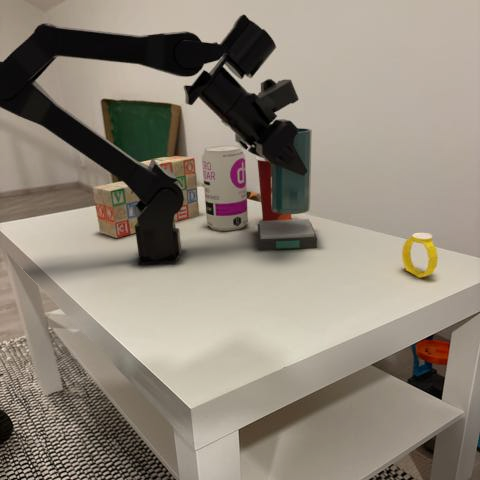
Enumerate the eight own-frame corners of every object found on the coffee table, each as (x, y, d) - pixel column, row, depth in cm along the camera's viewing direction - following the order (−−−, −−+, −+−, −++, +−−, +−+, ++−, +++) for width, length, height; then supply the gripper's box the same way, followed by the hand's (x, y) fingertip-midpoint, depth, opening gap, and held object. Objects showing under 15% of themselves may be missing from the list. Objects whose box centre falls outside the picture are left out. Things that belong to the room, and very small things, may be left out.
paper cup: (293, 228, 99) (293, 153, 93) (255, 227, 100) (252, 154, 94) (297, 217, 106) (298, 146, 100) (261, 217, 107) (259, 147, 101)
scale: (258, 251, 88) (258, 237, 87) (257, 233, 97) (257, 220, 96) (317, 248, 87) (317, 234, 86) (310, 231, 97) (310, 218, 96)
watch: (396, 269, 77) (399, 231, 74) (411, 266, 78) (415, 228, 75) (423, 282, 72) (428, 242, 69) (439, 279, 73) (444, 239, 70)
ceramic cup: (294, 216, 85) (295, 133, 79) (263, 211, 89) (262, 131, 83) (317, 208, 89) (319, 128, 83) (286, 203, 93) (286, 127, 87)
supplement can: (255, 222, 104) (252, 145, 97) (233, 233, 98) (228, 152, 91) (222, 218, 108) (217, 144, 101) (199, 229, 102) (192, 150, 95)
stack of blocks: (117, 239, 98) (106, 174, 93) (99, 233, 102) (88, 171, 97) (200, 214, 111) (195, 156, 106) (181, 210, 116) (176, 154, 110)
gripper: (285, 58, 69) (355, 138, 76) (250, 61, 86) (311, 127, 93) (231, 123, 71) (304, 195, 78) (207, 114, 88) (270, 174, 95)
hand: (298, 169), depth 86 cm, fingers closed on ceramic cup, 7 cm apart
